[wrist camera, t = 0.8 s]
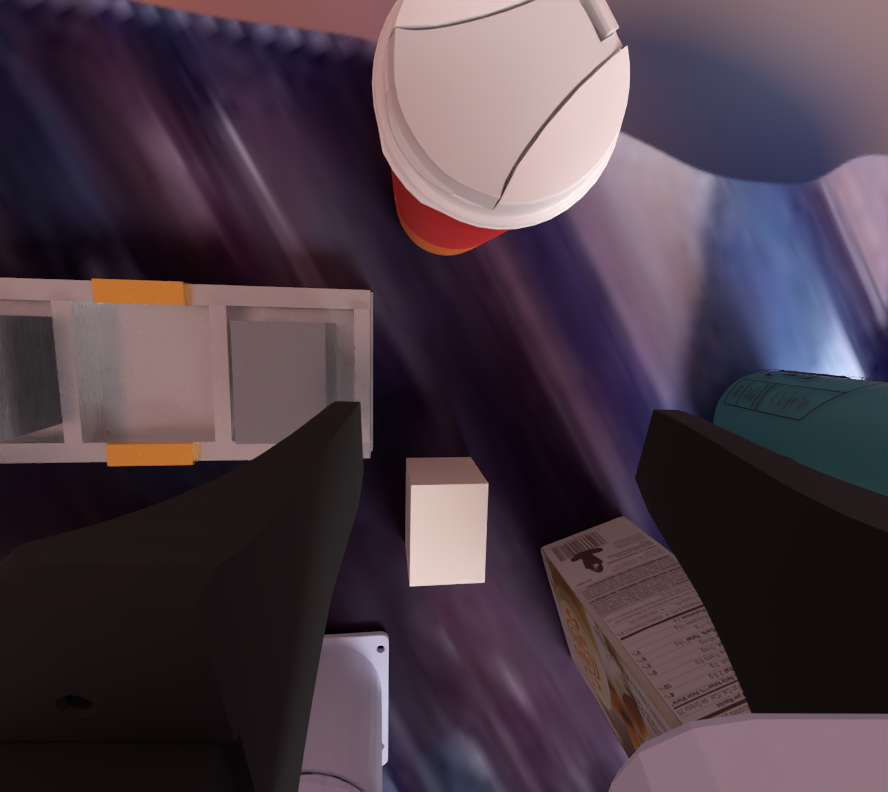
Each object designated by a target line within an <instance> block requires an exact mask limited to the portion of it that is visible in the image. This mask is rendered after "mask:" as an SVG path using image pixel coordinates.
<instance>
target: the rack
mask: <svg viewBox="0 0 888 792" xmlns="http://www.w3.org/2000/svg"><path fill="white" fill-rule="evenodd" d="M334 401H353V402H361V425H362V447H363V458H370V456H371V451H373V292H371V291H370V290H351V289H321V288H292V287H263V286H233V285H204V284H188V283H186V282H176V281H147V280H118V279H92V281H87V280H57V279H28V278H0V463H61V462H107V466H154V465H194V464H195V463H196V462H198V461H205V460H252V459H254V458H256V457H257V456H259V455H261V454H262V453H264V452H265V451H267V450H268V449H270V448H271V447H273V446H274V445H276V444H277V443H279V442H280V441H282V440H283V439H285V438H286V437H288V436H289V435H291V434H292V433H293V432H295V431H296V430H297V429H299V428H300V427H301V426H303V425H304V424H305V423H307V422H308V421H309V420H311V419H312V418H313V417H314V416H316V415H317V414H318V413H320V412H321V411H322V410H323V409H325V408H326V407H327V406H329V405H330V404H331V403H333V402H334Z"/></svg>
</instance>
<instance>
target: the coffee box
mask: <svg viewBox="0 0 888 792" xmlns="http://www.w3.org/2000/svg"><path fill="white" fill-rule="evenodd" d="M541 554H542V558H543V562H544V565H545V569H546V572H547V576H548V579H549V582H550V586H551V589H552V593H553V596H554V600H555V603H556V607H557V610H558V613H559V617H560V620H561V624H562V627H563V630H564V634H565V637H566V640H567V644H568V647H569V651H570V654H571V657H572V660H573V662H574V664H575V666H576V667H577V669H578V671H579V672H580V674H581V676H582V678H583V679H584V681H585V683H586V684H587V686H588V688H589V690H590V691H591V693H592V695H593V697H594V698H595V700H596V702H597V704H598V705H599V707H600V709H601V710H602V712H603V714H604V716H605V717H606V719H607V721H608V723H609V724H610V726H611V728H612V730H613V731H614V733H615V735H616V737H617V738H618V740H619V742H620V743H621V745H622V747H623V748H624V750H625V752H626V754H627V755H628V757H629V758H630V757H631V756H632V755H633V754H634V753H635V751H636V750H637V749H638V748H639V747H640V746H641V745H642V743H645V742H647V741H649V740H651V739H653V738H655V737H657V736H660V735H662V734H664V733H666V732H668V731H670V730H673V729H675V728H677V727H679V726H681V725H683V724H686V723H688V722H691V721H697V720H704V719H711V718H718V717H725V716H732V715H738V714H745V713H751V711H750V709H749V706H748V704H747V701H746V698H745V696H744V694H743V691H742V689H741V686H740V684H739V682H738V679H737V677H736V675H735V672H734V670H733V668H732V665H731V663H730V661H729V658H728V656H727V654H726V651H725V649H724V647H723V645H722V643H721V641H720V638H719V636H718V634H717V632H716V630H715V628H714V626H713V623H712V621H711V619H710V617H709V615H708V613H707V611H706V609H705V607H704V605H703V603H702V601H701V599H700V598H699V596H698V594H697V592H696V590H695V589H694V587H693V585H692V584H691V582H690V580H689V579H688V577H687V575H686V574H685V572H684V570H683V569H682V567H681V565H680V564H679V562H678V560H677V559H676V557H675V555H674V554H673V553H671V552H670V551H669V550H667V549H666V548H665V547H663V546H662V545H661V544H659V543H658V542H657V541H655V540H654V539H653V538H652V537H651V536H649V535H648V534H646V533H645V532H644V531H643V530H641V529H640V528H639V527H637V526H636V525H635V524H633V523H632V522H631V521H630V520H628V519H627V518H625V517H619V518H616V519H613V520H611V521H608V522H606V523H603V524H600V525H598V526H595V527H593V528H590V529H587V530H585V531H582V532H580V533H577V534H574V535H572V536H569V537H567V538H564V539H562V540H559V541H556V542H554V543H551V544H548V545H546V546H543V547H542V548H541Z"/></svg>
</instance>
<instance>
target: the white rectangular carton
mask: <svg viewBox="0 0 888 792" xmlns="http://www.w3.org/2000/svg"><path fill="white" fill-rule="evenodd" d="M487 508H488V482H487V481H486V479H485V478H484V476H483V475H482V473H481V472H480V470H479V469H478V467H477V466H476V464H475V463H474V461H473V460H472V458H471V457H438V458H406V517H405V546H406V556H407V565H408V575H409V585H410V586H427V585H446V584H466V583H485V560H486V534H487Z"/></svg>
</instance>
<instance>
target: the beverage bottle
mask: <svg viewBox="0 0 888 792" xmlns="http://www.w3.org/2000/svg"><path fill="white" fill-rule="evenodd" d="M764 370H766V369H764ZM774 370H775V369H774ZM776 370H777V369H776ZM778 370H780V369H778ZM760 371H761V370H760ZM784 372H789V373H784ZM794 373H795V374H794ZM798 373H799V374H798ZM805 374H808V375H805ZM815 375H818V376H815ZM825 376H828V377H825ZM837 377H838V378H837ZM846 378H848V379H846ZM860 378H861V377H860ZM863 379H864V377H863ZM867 379H868V378H867ZM867 379H865V380H862V379H861V380H856V379H850V378H849V377H845V376H834V375H827V374H816V373H805V372H797V371H796V372H794V371H792V370H791V371H788V370H787V371H784V370H780V371H778V372H776V371H771V370H770V371H769V370H767V371H762V372H758V371H757V372H756V373H755V372H754V373H752V374H749V375H746V376H744V377H742V378H740V379H738V380H737V381H735V382H734V383H733V384H732V385H731V386H730V387H729V388H728V389H727V390H726V391H725V392H724V394H723V395H722V396H721V398H720V400H719V402H718V404H717V407H716V410H715V413H714V420H713V424H715V425H717V426H719V427H721V428H723V429H725V430H728V431H730V432H732V433H734V434H736V435H738V436H740V437H743V438H745V439H747V440H749V441H751V442H753V443H755V444H758V445H760V446H762V447H764V448H766V449H768V450H771V451H773V452H775V453H777V454H780V455H782V456H784V457H786V458H789V459H791V460H793V461H796V462H798V463H801V464H803V465H805V466H808V467H810V468H812V469H815V470H817V471H820V472H822V473H825V474H827V475H830V476H832V477H835V478H838V479H840V480H843V481H846V482H849V483H851V484H854V485H857V486H860V487H863V488H865V489H868V490H871V491H874V492H877V493H879V494H883V495H886V496H888V382H877V381H869V380H867ZM869 379H871V378H869ZM875 379H876V378H875ZM878 379H879V378H878ZM866 380H867V381H866ZM872 380H873V379H872ZM879 380H880V379H879ZM883 381H884V380H883ZM887 381H888V380H887Z"/></svg>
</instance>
